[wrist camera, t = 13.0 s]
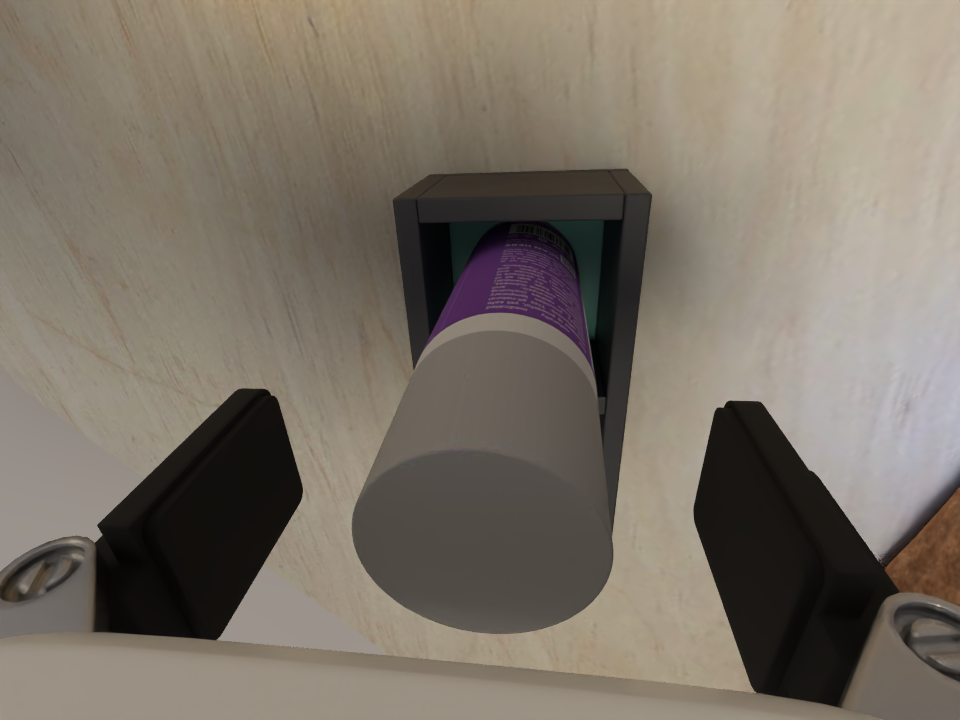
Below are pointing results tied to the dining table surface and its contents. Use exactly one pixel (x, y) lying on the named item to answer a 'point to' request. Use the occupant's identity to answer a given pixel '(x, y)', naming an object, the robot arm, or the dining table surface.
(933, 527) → the bread
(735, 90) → the dining table surface
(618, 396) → the dark grey divided box
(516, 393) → the container
